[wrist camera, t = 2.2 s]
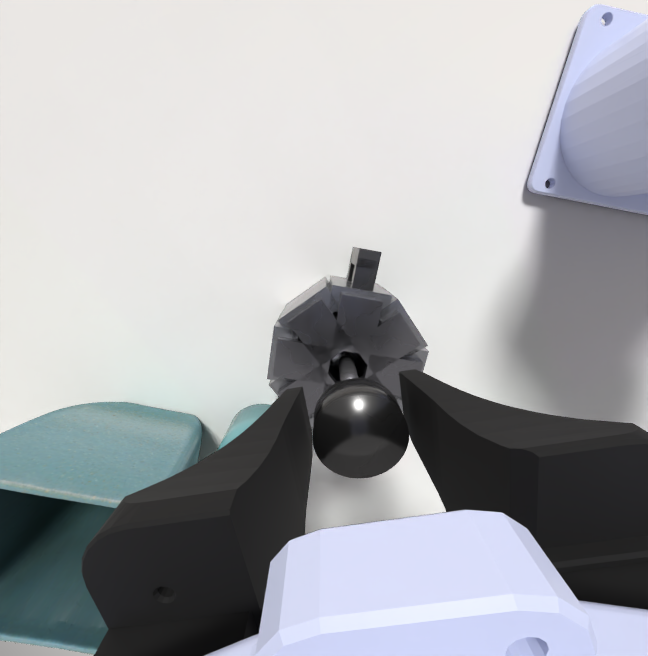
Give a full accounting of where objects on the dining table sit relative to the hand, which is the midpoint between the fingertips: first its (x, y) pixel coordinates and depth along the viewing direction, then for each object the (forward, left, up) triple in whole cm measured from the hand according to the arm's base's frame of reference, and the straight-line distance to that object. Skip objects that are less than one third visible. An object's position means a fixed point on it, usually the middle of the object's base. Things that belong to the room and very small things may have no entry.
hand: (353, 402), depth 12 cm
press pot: (0, 0, -8) cm, 8 cm away
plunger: (0, 0, -4) cm, 4 cm away
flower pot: (+11, +9, -8) cm, 16 cm away
